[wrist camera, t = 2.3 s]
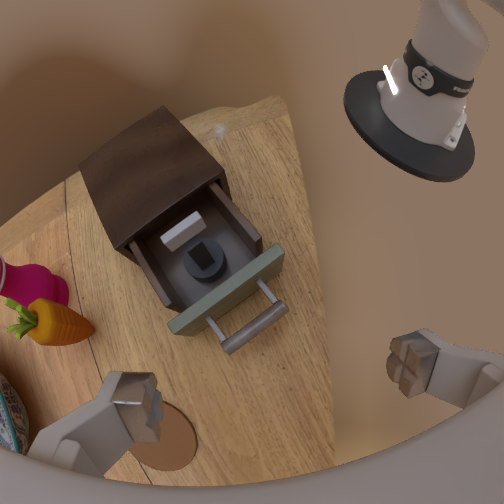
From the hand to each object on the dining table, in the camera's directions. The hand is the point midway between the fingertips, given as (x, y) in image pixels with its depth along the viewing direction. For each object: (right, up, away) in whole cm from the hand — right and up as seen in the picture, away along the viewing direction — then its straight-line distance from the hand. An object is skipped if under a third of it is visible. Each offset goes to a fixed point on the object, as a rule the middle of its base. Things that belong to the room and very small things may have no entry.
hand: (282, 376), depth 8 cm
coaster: (-12, -18, +18) cm, 29 cm away
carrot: (-22, -6, +23) cm, 32 cm away
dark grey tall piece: (-6, +3, +23) cm, 24 cm away
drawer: (-5, +2, +24) cm, 24 cm away
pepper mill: (-30, -3, +25) cm, 39 cm away
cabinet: (-13, +11, +28) cm, 33 cm away
